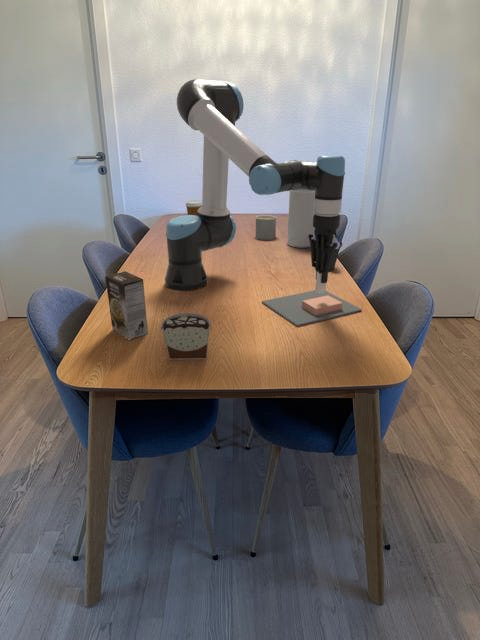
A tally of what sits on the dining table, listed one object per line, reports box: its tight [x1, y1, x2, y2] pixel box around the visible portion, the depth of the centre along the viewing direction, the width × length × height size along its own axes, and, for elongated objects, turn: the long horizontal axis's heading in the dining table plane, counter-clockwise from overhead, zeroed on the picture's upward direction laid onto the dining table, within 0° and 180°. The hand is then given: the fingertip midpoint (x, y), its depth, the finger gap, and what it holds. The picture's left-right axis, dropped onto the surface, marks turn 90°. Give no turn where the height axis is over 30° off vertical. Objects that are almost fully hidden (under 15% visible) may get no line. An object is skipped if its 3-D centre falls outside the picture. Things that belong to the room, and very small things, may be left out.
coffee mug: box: [255, 214, 277, 241], centre depth 216 cm, size 13×10×10 cm
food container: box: [160, 312, 213, 361], centre depth 108 cm, size 12×6×10 cm, turn 92°
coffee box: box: [104, 270, 149, 340], centre depth 117 cm, size 9×6×16 cm
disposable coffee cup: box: [185, 200, 202, 216], centre depth 242 cm, size 10×10×12 cm
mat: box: [261, 289, 363, 328], centre depth 136 cm, size 24×20×1 cm
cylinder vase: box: [286, 189, 315, 249], centre depth 199 cm, size 12×12×25 cm
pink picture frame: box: [302, 295, 342, 316], centre depth 133 cm, size 10×2×7 cm
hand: (320, 291), depth 132 cm, fingers closed
